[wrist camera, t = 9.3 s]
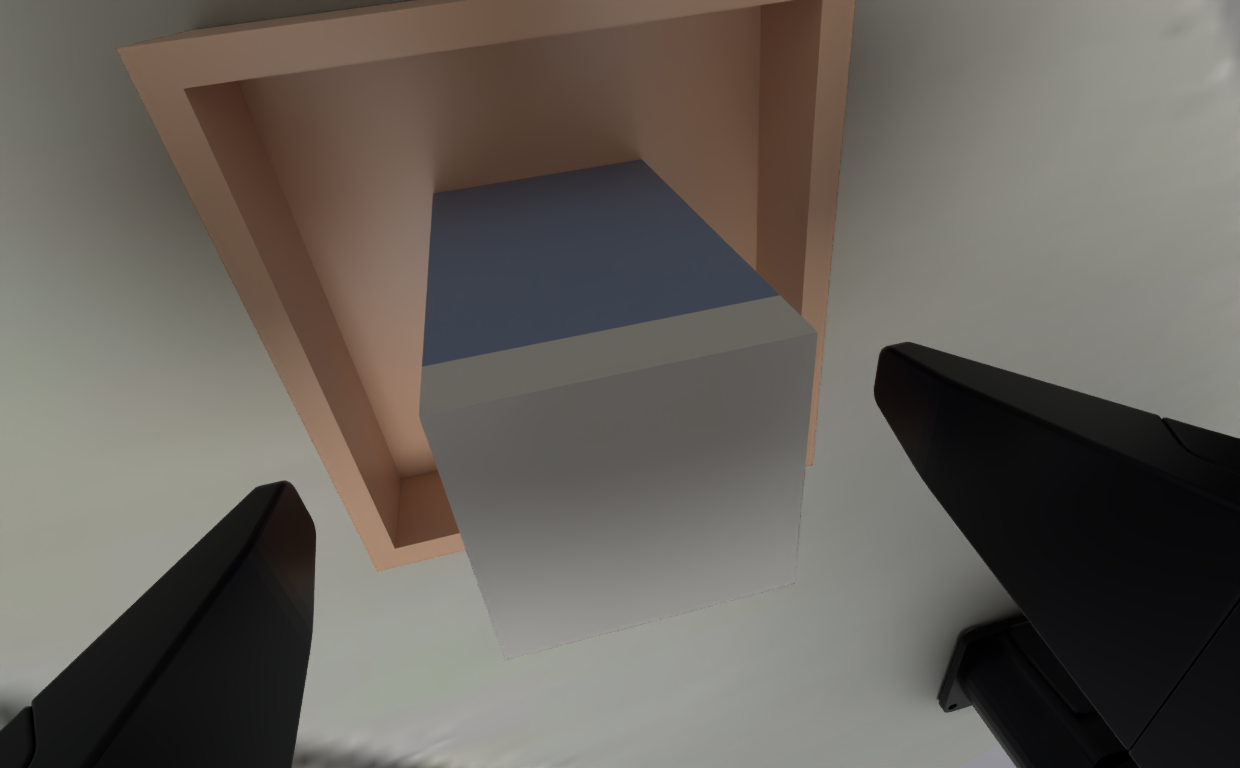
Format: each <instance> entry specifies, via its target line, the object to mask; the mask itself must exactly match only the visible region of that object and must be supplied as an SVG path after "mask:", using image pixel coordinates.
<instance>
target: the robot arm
mask: <svg viewBox="0 0 1240 768" xmlns="http://www.w3.org/2000/svg"><path fill="white" fill-rule="evenodd" d="M874 396H875V400H876V403H877V405H878V407H879V408H880V410H881V412H882V414H883V415H884V417H885V419H886V420H887V422H888V424H889V425H890V427H891V429H892V430H893V432H894V434H895V435H896V437H897V439H898V440H899V442H900V444H901V445H902V447H903V449H904V450H905V452H906V454H907V455H908V457H909V459H910V460H911V462H912V464H913V465H914V467H915V469H916V470H917V472H918V473H919V475H920V476H921V478H922V479H923V481H924V482H925V484H926V485H927V486H928V488H929V489H930V491H931V492H932V493H933V495H934V496H935V497H936V499H937V500H938V501H939V503H940V504H941V505H942V507H943V508H944V509H945V511H946V512H947V513H948V514H949V516H950V517H951V518H952V520H953V521H954V522H955V524H956V525H957V526H958V528H959V529H960V530H961V532H962V533H963V534H964V536H965V537H966V538H967V540H968V541H969V542H970V544H971V545H972V546H973V548H974V549H975V550H976V551H977V553H978V554H979V555H980V557H981V558H982V559H983V561H984V562H985V563H986V565H987V566H988V567H989V569H990V570H991V571H992V573H993V574H994V575H995V577H996V578H997V579H998V581H999V582H1000V583H1001V585H1002V586H1003V587H1004V588H1005V590H1006V591H1007V592H1008V594H1009V595H1010V596H1011V598H1012V599H1013V600H1014V602H1015V603H1016V604H1017V606H1018V607H1019V608H1020V610H1021V611H1022V612H1023V614H1024V615H1025V616H1022V617H1018V618H1015V619H1011V620H1008V621H1004V622H1001V623H998V624H994V625H991V626H987V627H984V628H980V629H977V630H973V631H971V632H968V633H967V634H965V635H964V636H963V637H962V638H961V640H960V643H959V645H958V648H957V651H956V654H955V657H954V660H953V663H952V666H951V669H950V672H949V675H948V677H947V680H946V683H945V686H944V689H943V692H942V695H941V698H940V701H939V705H940V706H941V708H942V709H943V711H944V712H952V711H955V710H958V709H962V708H965V707H968V706H972V705H973V707H974V708H975V710H976V711H977V713H978V714H979V715H980V717H981V718H982V720H983V721H984V722H985V724H986V725H987V727H988V728H989V729H990V731H991V732H992V734H993V735H994V736H995V738H996V739H997V741H998V742H999V743H1000V745H1001V746H1002V748H1003V749H1004V750H1005V752H1006V753H1007V755H1008V756H1009V757H1010V759H1011V760H1012V762H1013V763H1014V764H1015V766H1016V767H1017V768H1240V439H1239V438H1236V437H1232V436H1229V435H1225V434H1221V433H1218V432H1214V431H1211V430H1207V429H1204V428H1200V427H1197V426H1193V425H1190V424H1186V423H1183V422H1180V421H1176V420H1173V419H1170V418H1162V419H1161V418H1160V416H1158V415H1156V414H1152V413H1149V412H1145V411H1142V410H1139V409H1135V408H1132V407H1129V406H1125V405H1122V404H1118V403H1115V402H1112V401H1108V400H1105V399H1101V398H1098V397H1095V396H1091V395H1088V394H1084V393H1081V392H1078V391H1074V390H1071V389H1067V388H1064V387H1061V386H1057V385H1054V384H1051V383H1047V382H1044V381H1040V380H1037V379H1034V378H1030V377H1027V376H1023V375H1020V374H1017V373H1013V372H1010V371H1007V370H1003V369H1000V368H996V367H993V366H990V365H986V364H983V363H979V362H976V361H973V360H969V359H966V358H962V357H959V356H956V355H952V354H949V353H946V352H942V351H939V350H935V349H932V348H929V347H925V346H922V345H918V344H915V343H911V342H903V343H899V344H894V345H890V346H886V347H884V348H883V349H882V350H881V352H880V354H879V359H878V366H877V372H876V379H875V385H874ZM315 554H316V530H315V526H314V522H313V520H312V518H311V516H310V514H309V512H308V511H307V509H306V507H305V505H304V503H303V502H302V500H301V498H300V496H299V494H298V492H297V491H296V489H295V487H294V486H293V485H292V484H291V483H290V482H288V481H279V482H275V483H270V484H265V485H261V486H258V487H256V488H255V489H254V490H252V491H251V492H250V493H249V494H248V495H247V496H246V497H245V498H244V499H243V500H242V501H241V502H240V503H239V504H238V505H237V506H236V507H235V508H233V509H232V510H231V511H230V512H229V513H228V514H227V515H226V516H225V517H224V518H223V519H222V520H221V521H220V522H219V523H218V524H217V525H216V526H215V527H214V528H213V529H211V530H210V531H209V532H208V533H207V534H206V535H205V536H204V537H203V538H202V539H201V540H200V541H199V542H198V543H197V544H196V545H195V546H194V547H193V548H192V549H190V550H189V551H188V552H187V553H186V554H185V555H184V556H183V557H182V558H181V559H180V560H179V561H178V562H177V563H176V564H175V565H174V566H173V567H172V568H171V569H170V570H168V571H167V572H166V573H165V574H164V575H163V576H162V577H161V578H160V579H159V580H158V581H157V582H156V583H155V584H154V585H153V586H152V587H151V588H150V589H149V590H147V591H146V592H145V593H144V594H143V595H142V596H141V597H140V598H139V599H138V600H137V601H136V602H135V603H134V604H133V605H132V606H131V607H130V608H129V609H127V610H126V611H125V612H124V613H123V614H122V615H121V616H120V617H119V618H118V619H117V620H116V621H115V622H114V623H113V624H112V625H111V626H110V627H109V628H108V629H106V630H105V631H104V632H103V633H102V634H101V635H100V636H99V637H98V638H97V639H96V640H95V641H94V642H93V643H92V644H91V645H90V646H89V647H88V648H87V649H85V650H84V651H83V652H82V653H81V654H80V655H79V656H78V657H77V658H76V659H75V660H74V661H73V662H72V663H71V664H70V665H69V666H68V667H67V668H66V669H64V670H63V671H62V672H61V673H60V674H59V675H58V676H57V677H56V678H55V679H54V680H53V681H52V682H51V683H50V684H49V685H48V686H47V687H46V688H45V689H43V690H42V691H41V692H40V693H39V694H38V695H37V696H36V697H35V698H34V699H33V700H32V703H31V706H27V707H25V708H23V709H22V710H21V711H20V712H19V713H18V714H17V715H16V716H15V717H14V718H13V719H12V720H11V721H10V722H9V723H8V724H7V725H6V726H5V727H3V728H2V729H1V730H0V768H292V762H293V756H294V750H295V744H296V737H297V731H298V725H299V718H300V712H301V706H302V699H303V693H304V687H305V680H306V674H307V668H308V661H309V655H310V648H311V641H312V632H313V615H314V585H315Z"/></svg>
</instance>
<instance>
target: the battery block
mask: <svg viewBox="0 0 1240 768" xmlns="http://www.w3.org/2000/svg"><path fill="white" fill-rule="evenodd" d="M817 335H818V332H817V331H816V330H815V329H814V328H813V327H812V326H811V325H810V324H809V323H808V322H807V321H806V320H805V319H804V318H803V317H802V316H801V315H800V314H799V313H798V312H797V311H796V310H795V309H794V308H793V307H792V306H791V305H790V304H788V303H787V302H786V301H785V300H784V299H783V298H782V297H781V296H780V295H779V294H778V293H777V292H776V291H775V290H774V289H773V288H772V287H771V286H770V285H769V284H768V283H767V282H766V281H765V280H764V279H763V278H762V277H761V276H760V275H759V274H758V273H757V272H756V271H755V270H754V269H753V268H752V267H751V266H750V265H749V264H748V263H747V262H746V261H745V260H744V259H743V258H742V257H741V256H740V255H739V254H738V253H737V252H736V251H735V250H734V249H733V248H732V247H731V246H730V245H729V244H728V243H726V242H725V241H724V240H723V239H722V238H721V237H720V236H719V235H718V234H717V233H716V232H715V231H714V230H713V229H712V228H711V227H710V226H709V225H708V224H707V223H706V222H705V221H704V220H703V219H702V218H701V217H700V216H699V215H698V214H697V213H696V212H695V211H694V210H693V209H692V208H691V207H690V206H689V205H688V204H687V203H686V202H685V201H684V200H683V199H682V198H681V197H680V196H679V195H678V194H677V193H676V192H675V191H674V190H673V189H672V188H671V187H670V186H669V185H668V184H667V183H666V182H664V181H663V180H662V179H661V178H660V177H659V176H658V175H657V174H656V173H655V172H654V171H653V170H652V169H651V168H650V167H649V166H648V165H647V164H646V163H645V162H644V161H643V160H642V159H640V160H634V161H628V162H622V163H616V164H609V165H603V166H597V167H591V168H585V169H579V170H573V171H567V172H561V173H555V174H549V175H543V176H536V177H530V178H524V179H518V180H512V181H506V182H500V183H494V184H488V185H482V186H476V187H470V188H464V189H457V190H451V191H445V192H439V193H433V200H432V216H431V231H430V247H429V263H428V278H427V294H426V309H425V325H424V340H423V356H422V371H421V387H420V402H419V418H420V421H421V424H422V427H423V430H424V433H425V435H426V438H427V441H428V444H429V447H430V450H431V452H432V455H433V458H434V461H435V464H436V467H437V469H438V472H439V475H440V478H441V481H442V484H443V486H444V489H445V492H446V495H447V498H448V501H449V504H450V506H451V509H452V512H453V515H454V518H455V521H456V523H457V526H458V529H459V532H460V535H461V538H462V540H463V543H464V546H465V549H466V552H467V555H468V557H469V560H470V563H471V566H472V569H473V572H474V574H475V577H476V580H477V583H478V586H479V589H480V592H481V594H482V597H483V600H484V603H485V606H486V609H487V611H488V614H489V617H490V620H491V623H492V626H493V628H494V631H495V634H496V637H497V640H498V643H499V645H500V648H501V651H502V654H503V657H504V660H509V659H513V658H516V657H520V656H524V655H528V654H532V653H535V652H539V651H543V650H547V649H551V648H554V647H558V646H562V645H566V644H569V643H573V642H577V641H581V640H585V639H588V638H592V637H596V636H600V635H604V634H607V633H611V632H615V631H619V630H623V629H626V628H630V627H634V626H638V625H641V624H645V623H649V622H653V621H657V620H660V619H664V618H668V617H672V616H676V615H679V614H683V613H687V612H691V611H695V610H698V609H702V608H706V607H710V606H713V605H717V604H721V603H725V602H729V601H732V600H736V599H740V598H744V597H748V596H751V595H755V594H759V593H763V592H767V591H770V590H774V589H778V588H782V587H785V586H789V585H793V584H794V582H795V571H796V560H797V550H798V539H799V528H800V518H801V507H802V496H803V485H804V475H805V464H806V453H807V443H808V432H809V421H810V410H811V400H812V389H813V378H814V367H815V357H816V346H817Z"/></svg>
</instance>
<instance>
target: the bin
mask: <svg viewBox="0 0 1240 768" xmlns="http://www.w3.org/2000/svg"><path fill="white" fill-rule="evenodd" d="M855 1H856V0H413V1H406V2H398V3H391V4H383V5H376V6H368V7H361V8H353V9H346V10H338V11H331V12H323V13H316V14H309V15H301V16H294V17H286V18H279V19H271V20H264V21H256V22H249V23H241V24H234V25H226V26H219V27H211V28H204V29H196V30H190V31H185V32H181V33H177V34H173V35H169V36H165V37H161V38H157V39H152V40H148V41H144V42H140V43H136V44H132V45H128V46H124V47H119V48H116V50H117V52H118V54H119V56H120V58H121V60H122V62H123V64H124V66H125V68H126V70H127V72H128V74H129V76H130V78H131V80H132V82H133V84H134V86H135V88H136V90H137V92H138V94H139V96H140V98H141V100H142V102H143V104H144V106H145V108H146V110H147V112H148V114H149V116H150V118H151V120H152V122H153V124H154V126H155V128H156V130H157V132H158V134H159V136H160V138H161V140H162V142H163V144H164V146H165V148H166V150H167V152H168V154H169V156H170V158H171V160H172V162H173V164H174V166H175V168H176V170H177V172H178V174H179V176H180V178H181V180H182V182H183V184H184V186H185V188H186V190H187V192H188V194H189V196H190V198H191V200H192V202H193V204H194V206H195V208H196V210H197V212H198V214H199V216H200V218H201V220H202V222H203V224H204V226H205V228H206V230H207V232H208V234H209V236H210V238H211V240H212V242H213V244H214V246H215V248H216V250H217V252H218V254H219V256H220V258H221V260H222V262H223V264H224V266H225V268H226V270H227V272H228V274H229V276H230V278H231V280H232V282H233V284H234V286H235V288H236V290H237V292H238V294H239V296H240V298H241V300H242V302H243V304H244V306H245V308H246V310H247V312H248V314H249V316H250V318H251V320H252V322H253V324H254V326H255V328H256V330H257V332H258V334H259V336H260V338H261V340H262V342H263V344H264V346H265V348H266V350H267V352H268V354H269V356H270V358H271V360H272V362H273V364H274V366H275V368H276V370H277V372H278V374H279V376H280V378H281V380H282V382H283V384H284V386H285V388H286V390H287V392H288V394H289V396H290V398H291V400H292V402H293V404H294V406H295V408H296V410H297V412H298V414H299V416H300V418H301V420H302V422H303V424H304V426H305V428H306V430H307V432H308V434H309V436H310V438H311V440H312V442H313V444H314V446H315V448H316V450H317V452H318V454H319V456H320V458H321V460H322V462H323V464H324V466H325V468H326V470H327V472H328V474H329V476H330V478H331V480H332V482H333V484H334V486H335V488H336V490H337V492H338V494H339V496H340V498H341V500H342V502H343V504H344V506H345V508H346V510H347V512H348V514H349V516H350V518H351V520H352V522H353V524H354V526H355V528H356V530H357V532H358V534H359V536H360V538H361V540H362V542H363V544H364V546H365V548H366V550H367V552H368V554H369V556H370V558H371V560H372V562H373V564H374V566H375V568H376V570H377V572H378V571H382V570H386V569H390V568H394V567H398V566H402V565H406V564H411V563H415V562H419V561H423V560H427V559H431V558H435V557H439V556H443V555H447V554H451V553H455V552H460V551H464V550H466V549H465V546H464V543H463V540H462V538H461V535H460V532H459V529H458V526H457V523H456V521H455V518H454V515H453V512H452V509H451V506H450V504H449V501H448V498H447V495H446V492H445V489H444V486H443V484H442V481H441V478H440V475H439V472H438V469H437V467H436V464H435V461H434V458H433V455H432V452H431V450H430V447H429V444H428V441H427V438H426V435H425V433H424V430H423V427H422V424H421V421H420V418H419V402H420V387H421V371H422V356H423V340H424V325H425V309H426V294H427V278H428V263H429V247H430V231H431V216H432V200H433V193H439V192H445V191H451V190H457V189H464V188H470V187H476V186H482V185H488V184H494V183H500V182H506V181H512V180H518V179H524V178H530V177H536V176H543V175H549V174H555V173H561V172H567V171H573V170H579V169H585V168H591V167H597V166H603V165H609V164H616V163H622V162H628V161H634V160H640V159H642V160H643V161H644V162H645V163H646V164H647V165H648V166H649V167H650V168H651V169H652V170H653V171H654V172H655V173H656V174H657V175H658V176H659V177H660V178H661V179H662V180H663V181H664V182H666V183H667V184H668V185H669V186H670V187H671V188H672V189H673V190H674V191H675V192H676V193H677V194H678V195H679V196H680V197H681V198H682V199H683V200H684V201H685V202H686V203H687V204H688V205H689V206H690V207H691V208H692V209H693V210H694V211H695V212H696V213H697V214H698V215H699V216H700V217H701V218H702V219H703V220H704V221H705V222H706V223H707V224H708V225H709V226H710V227H711V228H712V229H713V230H714V231H715V232H716V233H717V234H718V235H719V236H720V237H721V238H722V239H723V240H724V241H725V242H726V243H728V244H729V245H730V246H731V247H732V248H733V249H734V250H735V251H736V252H737V253H738V254H739V255H740V256H741V257H742V258H743V259H744V260H745V261H746V262H747V263H748V264H749V265H750V266H751V267H752V268H753V269H754V270H755V271H756V272H757V273H758V274H759V275H760V276H761V277H762V278H763V279H764V280H765V281H766V282H767V283H768V284H769V285H770V286H771V287H772V288H773V289H774V290H775V291H776V292H777V293H778V294H779V295H780V296H781V297H782V298H783V299H784V300H785V301H786V302H787V303H788V304H790V305H791V306H792V307H793V308H794V309H795V310H796V311H797V312H798V313H799V314H800V315H801V316H802V317H803V318H804V319H805V320H806V321H807V322H808V323H809V324H810V325H811V326H812V327H813V328H814V329H815V330H816V331H817V332H818V335H817V346H816V357H815V367H814V378H813V389H812V400H811V410H810V421H809V432H808V443H807V453H806V464H805V467H807V466H811V465H813V455H814V444H815V434H816V423H817V412H818V401H819V390H820V380H821V369H822V358H823V347H824V336H825V325H826V315H827V304H828V293H829V282H830V271H831V260H832V250H833V239H834V228H835V217H836V206H837V195H838V185H839V174H840V163H841V152H842V141H843V131H844V120H845V109H846V98H847V87H848V76H849V66H850V55H851V44H852V33H853V22H854V11H855Z"/></svg>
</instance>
